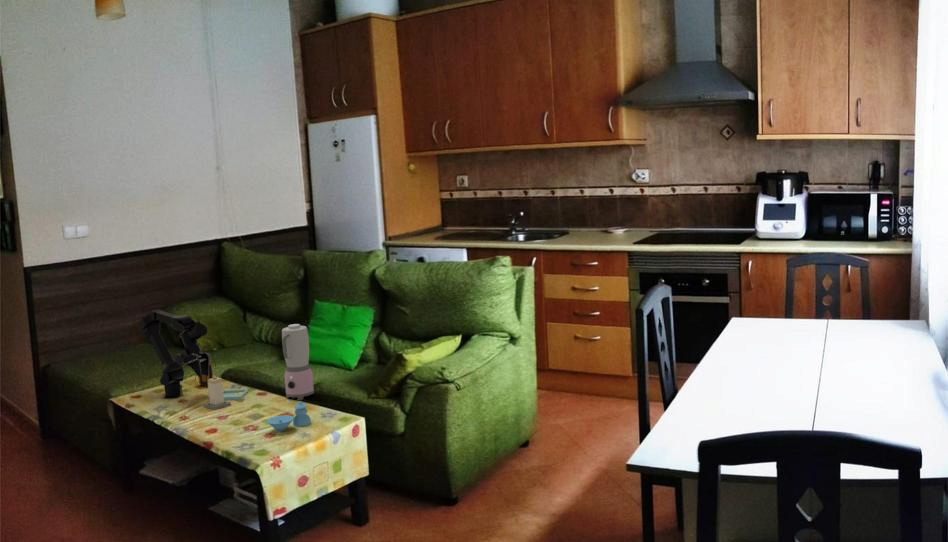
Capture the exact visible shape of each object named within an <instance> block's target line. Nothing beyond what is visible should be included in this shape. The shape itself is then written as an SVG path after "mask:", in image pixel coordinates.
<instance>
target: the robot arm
mask: <svg viewBox="0 0 948 542" xmlns="http://www.w3.org/2000/svg"><path fill="white" fill-rule="evenodd" d="M161 323H165V324H168V325H170V326H171V327H172V329H174V330H175V331H177V332H179V334H178V335H177V338H181V341H182V342H183V345H184V347H183V352H182V353H180V354H179V353H177V354H175V355H174V359H173V357H172V355H171V353H170V351H169V348H167V345H166V343H165V340H164V339H163V337H162V335H161V333H160V331H161ZM138 328H139V331H140V332H141V333H142V335H143V336H144V337H147V338H148V339H149V341H150V343H151V345H152V346H153V347H152V348H153V349H154V351H155V353H156V354H157V357H158V358H159V361H160V363H161V364H162V369H161V373H162V376H161V378H160V379H159V383H160V385H162V386H164V387H163V389H164V396H163V398H164V399H173V398H179V397H180V396H182V395H183V387H182V384H181V382H183V381H184V375H185V370H184V368H183V366H184V365H185V366H188V367H190V368H191V370H192V371H193V372H194V373H195V375H196V374H197V376H196V377H200V376H201V368H202V370H203V372H204V374H205V375H206V376H208V375H209V364H210V359H211V358H212V355H211V354H210V353H208V352H202V348H201V347H200V346H201V343H200V342H199V341H198V340H199V339H201V338H203V337H204V336H206V335H207V334H208V328H207V326H206V325H204V324H203V323H201V321H195V320H194V319H193V318H192V317H191V316H190V315H183V314H182V315H177V314H173V313H170V312H167V311H164V310H162V309H156V310H152V311H150V313H148V314H147V315H145V316H144V317H142V319H140V320H139V322H138ZM181 394H182V395H181Z"/></svg>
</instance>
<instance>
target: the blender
mask: <svg viewBox="0 0 948 542" xmlns="http://www.w3.org/2000/svg"><path fill="white" fill-rule="evenodd" d="M281 340H282V341H281V342H282V352H283V357H284V361H285V364H286V370H285V371H284V387H285V396H286V397H285V398H286V399H289V398H297V400H299V401H302V400H304V397H307V396H311V395H313V394H314V393H315V389H314V376H313V375H314V374H313V371H312V369H311V367H310V365H309V363H310V362H309V359H310V340H309V332H308V327H307V326H305V325H301V324H300V323H293V324H289V325H287V327H284V328H282V329H281Z"/></svg>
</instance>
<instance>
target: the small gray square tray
mask: <svg viewBox="0 0 948 542" xmlns="http://www.w3.org/2000/svg"><path fill="white" fill-rule="evenodd" d="M231 405H232V403H231V402H230V401H228V400H225V401H224V404H221V405H218V406H212V405H210V402H208V403H204V404H203V408H205V409H209V410H213V411H216V410H219V409H223V408H226V407H229V406H231Z"/></svg>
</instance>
